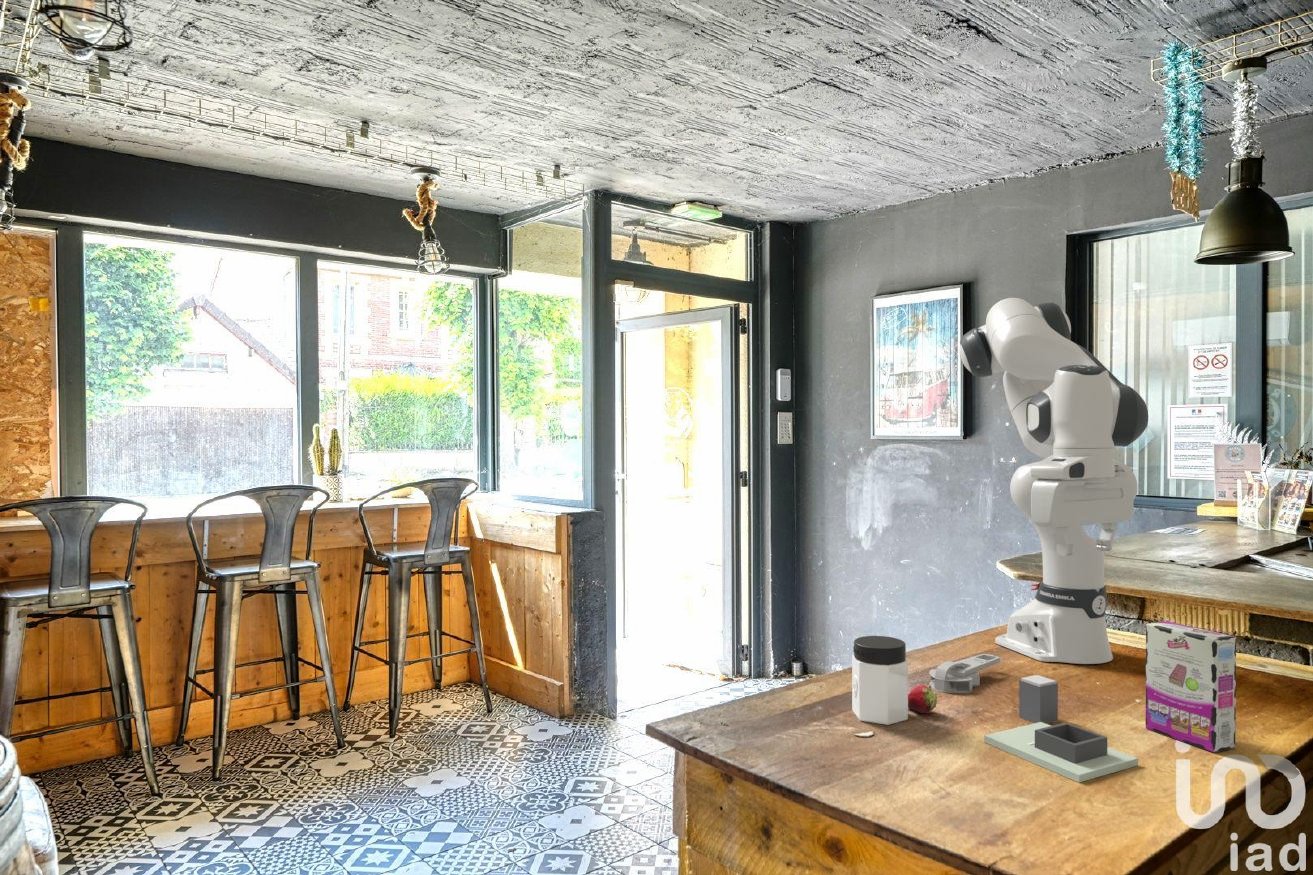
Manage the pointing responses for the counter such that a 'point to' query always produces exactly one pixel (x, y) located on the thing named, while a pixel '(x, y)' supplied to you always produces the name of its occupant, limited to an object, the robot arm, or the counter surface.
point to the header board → (1063, 750)
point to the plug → (1038, 699)
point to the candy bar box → (1191, 685)
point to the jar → (880, 680)
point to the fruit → (922, 699)
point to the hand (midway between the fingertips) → (1084, 553)
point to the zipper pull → (960, 673)
